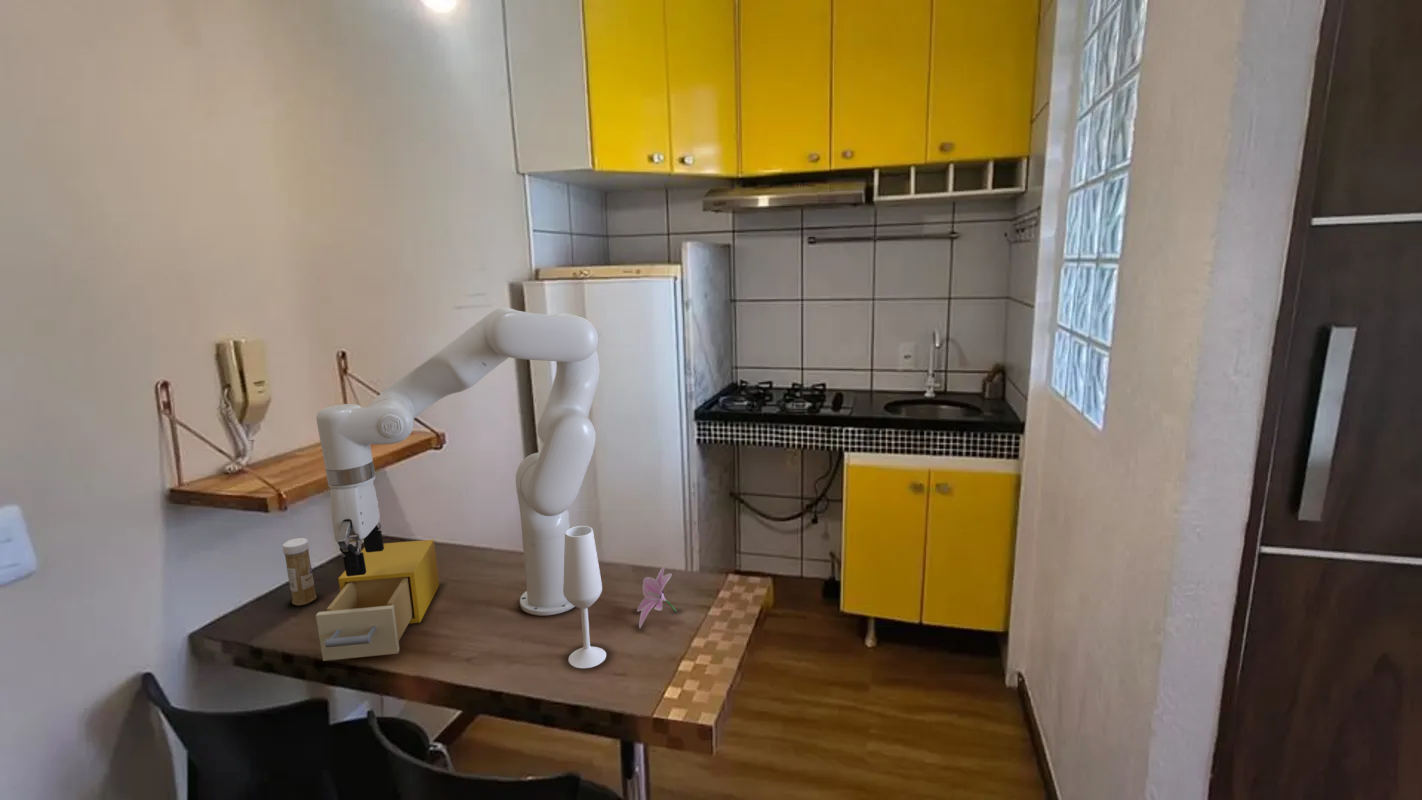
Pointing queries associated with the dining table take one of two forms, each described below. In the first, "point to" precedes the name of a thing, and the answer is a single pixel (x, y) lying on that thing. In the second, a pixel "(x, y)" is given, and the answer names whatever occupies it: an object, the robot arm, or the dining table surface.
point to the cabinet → (404, 570)
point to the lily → (653, 594)
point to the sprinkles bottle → (299, 571)
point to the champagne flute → (582, 588)
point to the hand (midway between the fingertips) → (366, 562)
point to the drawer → (366, 619)
